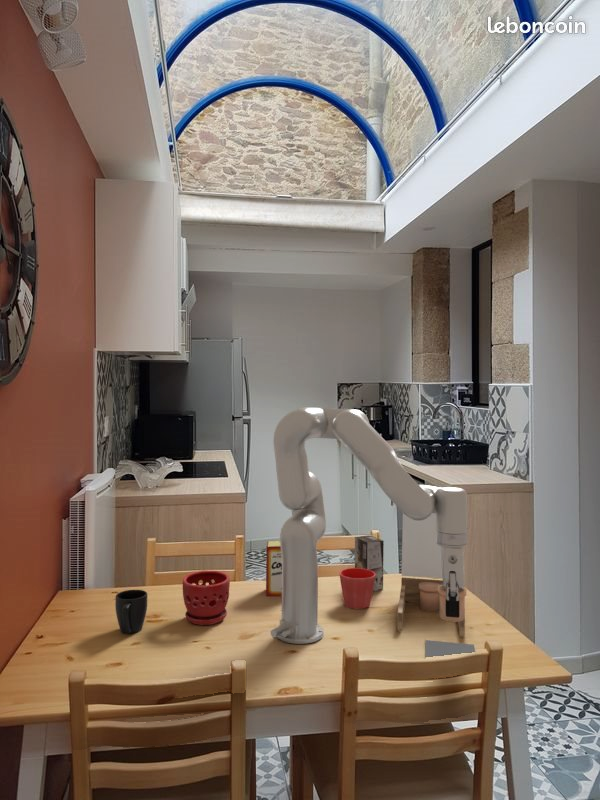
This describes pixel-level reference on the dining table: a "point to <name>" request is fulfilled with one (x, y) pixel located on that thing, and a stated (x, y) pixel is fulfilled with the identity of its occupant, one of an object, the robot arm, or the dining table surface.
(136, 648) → the dining table surface
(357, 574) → the flower pot
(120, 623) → the mug
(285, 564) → the robot arm
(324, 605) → the dining table surface
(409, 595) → the wooden open tray
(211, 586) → the plant pot
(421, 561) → the lid
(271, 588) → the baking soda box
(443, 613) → the small pot
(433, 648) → the rubber mat
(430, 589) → the pot
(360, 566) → the coffee box
